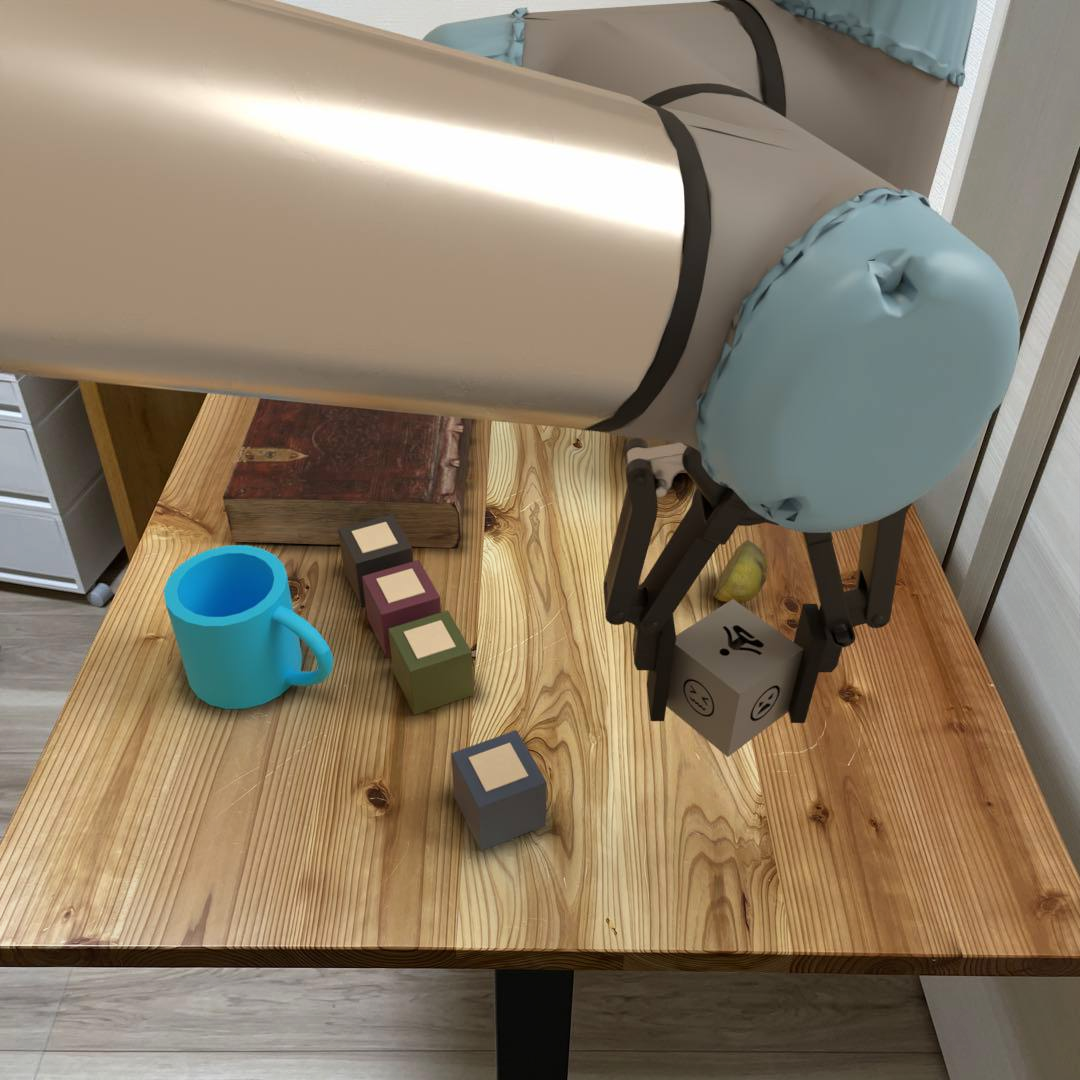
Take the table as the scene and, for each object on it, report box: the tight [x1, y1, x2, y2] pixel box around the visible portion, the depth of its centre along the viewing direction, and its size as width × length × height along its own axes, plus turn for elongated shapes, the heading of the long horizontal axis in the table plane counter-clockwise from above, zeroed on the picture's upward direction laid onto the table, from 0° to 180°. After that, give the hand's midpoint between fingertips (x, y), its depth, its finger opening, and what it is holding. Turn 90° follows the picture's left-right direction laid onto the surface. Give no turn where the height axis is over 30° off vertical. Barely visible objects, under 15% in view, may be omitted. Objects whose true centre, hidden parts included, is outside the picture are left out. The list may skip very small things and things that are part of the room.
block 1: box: [338, 514, 414, 607], centre depth 84 cm, size 4×4×5 cm
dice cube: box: [666, 599, 803, 758], centre depth 58 cm, size 5×5×5 cm
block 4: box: [450, 729, 548, 852], centre depth 67 cm, size 4×4×5 cm
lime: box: [713, 540, 768, 604], centre depth 83 cm, size 4×5×5 cm
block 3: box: [388, 610, 474, 716], centre depth 75 cm, size 4×4×5 cm
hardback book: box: [222, 398, 473, 549], centre depth 98 cm, size 29×19×5 cm, turn 0°
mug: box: [163, 544, 334, 710], centre depth 75 cm, size 12×8×8 cm
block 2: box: [362, 559, 442, 659], centre depth 79 cm, size 4×4×5 cm
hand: (724, 703), depth 60 cm, fingers closed on dice cube, 7 cm apart
